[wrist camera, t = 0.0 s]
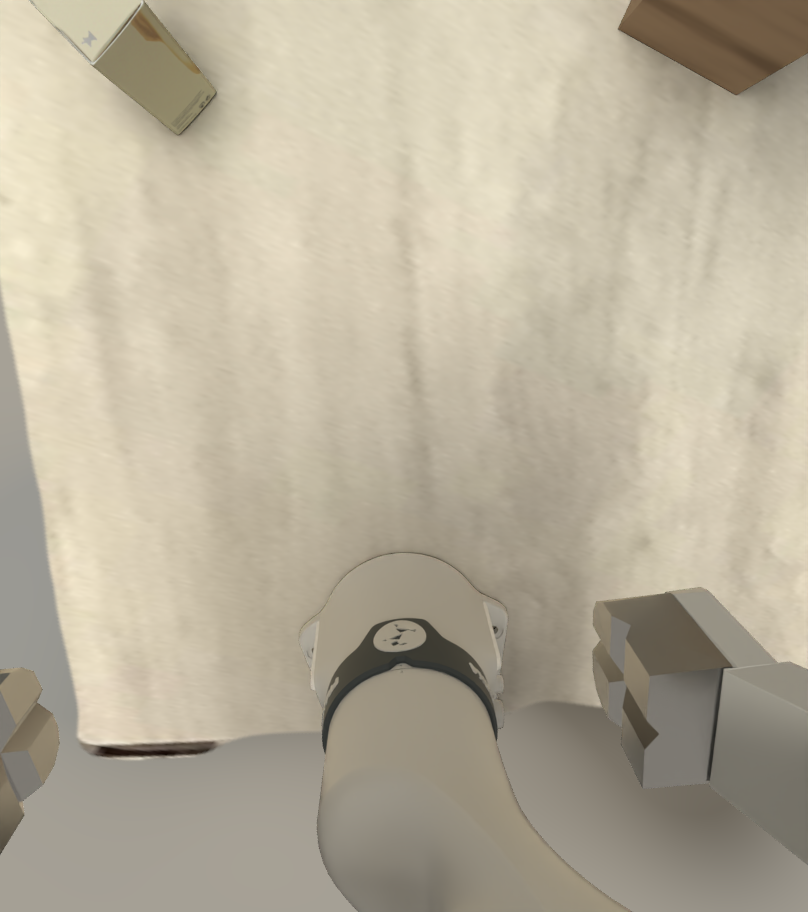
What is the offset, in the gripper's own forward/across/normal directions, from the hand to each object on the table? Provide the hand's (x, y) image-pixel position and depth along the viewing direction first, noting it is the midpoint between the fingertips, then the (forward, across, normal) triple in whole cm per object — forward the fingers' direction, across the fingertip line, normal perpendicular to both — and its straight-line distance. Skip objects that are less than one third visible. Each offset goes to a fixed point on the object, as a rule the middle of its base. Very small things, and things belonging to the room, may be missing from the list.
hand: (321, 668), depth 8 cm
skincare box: (+41, -12, +18) cm, 46 cm away
